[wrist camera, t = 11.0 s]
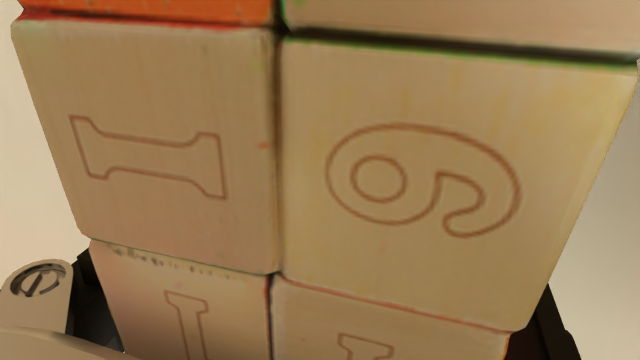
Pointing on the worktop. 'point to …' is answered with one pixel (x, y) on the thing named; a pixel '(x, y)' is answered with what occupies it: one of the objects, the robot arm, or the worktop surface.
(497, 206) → the stack of blocks
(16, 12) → the worktop surface
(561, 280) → the worktop surface
